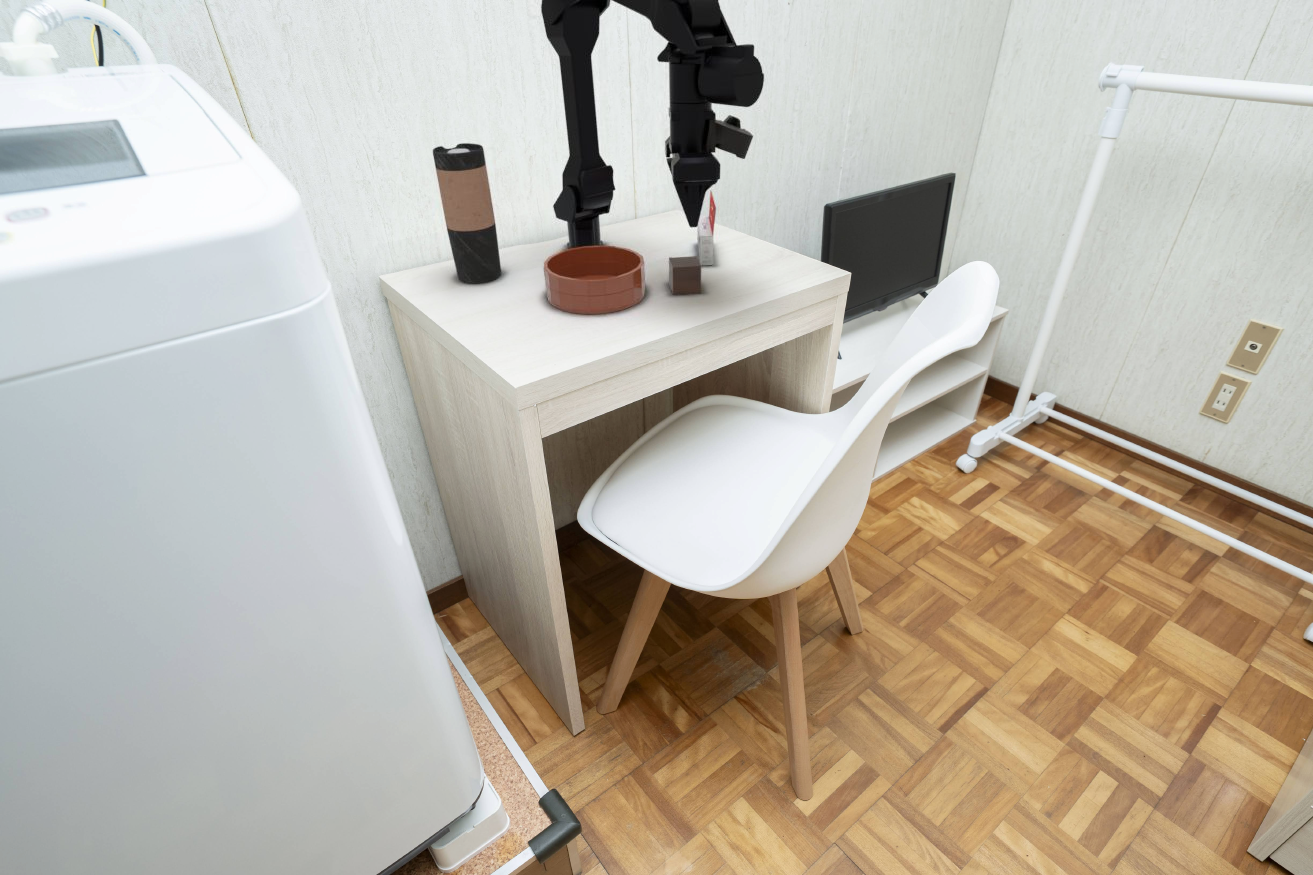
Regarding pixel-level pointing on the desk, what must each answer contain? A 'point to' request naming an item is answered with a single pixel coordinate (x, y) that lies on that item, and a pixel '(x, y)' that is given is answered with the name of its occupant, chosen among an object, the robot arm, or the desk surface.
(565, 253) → the bowl
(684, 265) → the block
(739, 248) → the desk surface
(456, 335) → the desk surface
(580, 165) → the robot arm
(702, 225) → the ink cartridge box
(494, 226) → the travel mug
